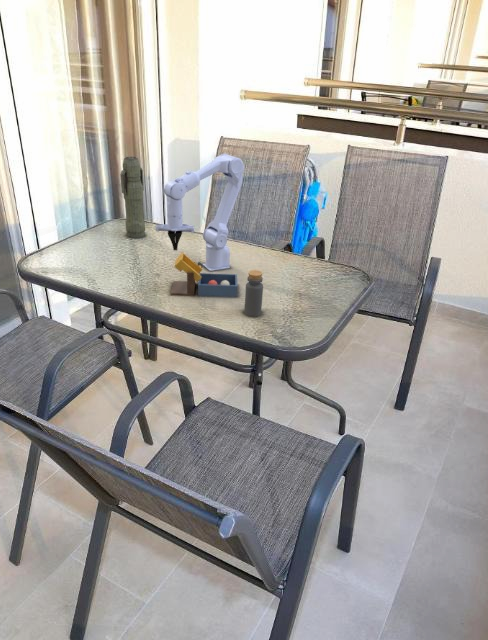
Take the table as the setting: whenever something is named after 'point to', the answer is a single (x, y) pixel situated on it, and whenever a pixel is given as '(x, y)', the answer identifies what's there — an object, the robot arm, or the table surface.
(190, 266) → the yellow tray
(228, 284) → the ball cream
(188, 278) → the dish stand
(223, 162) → the robot arm
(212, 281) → the ball coral
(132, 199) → the stone statue
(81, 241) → the table surface
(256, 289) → the bottle
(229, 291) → the bin
